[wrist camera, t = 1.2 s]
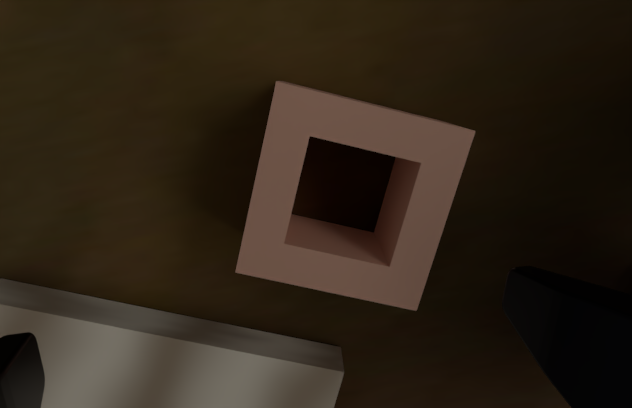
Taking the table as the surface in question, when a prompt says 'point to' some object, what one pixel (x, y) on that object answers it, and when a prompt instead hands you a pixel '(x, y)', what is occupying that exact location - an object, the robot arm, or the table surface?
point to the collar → (341, 241)
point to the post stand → (163, 356)
